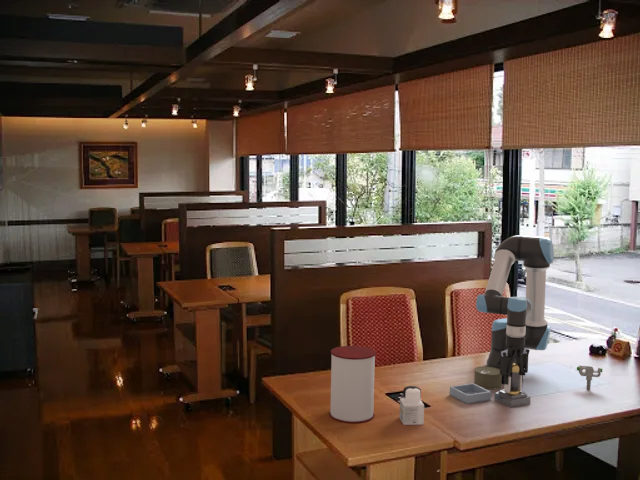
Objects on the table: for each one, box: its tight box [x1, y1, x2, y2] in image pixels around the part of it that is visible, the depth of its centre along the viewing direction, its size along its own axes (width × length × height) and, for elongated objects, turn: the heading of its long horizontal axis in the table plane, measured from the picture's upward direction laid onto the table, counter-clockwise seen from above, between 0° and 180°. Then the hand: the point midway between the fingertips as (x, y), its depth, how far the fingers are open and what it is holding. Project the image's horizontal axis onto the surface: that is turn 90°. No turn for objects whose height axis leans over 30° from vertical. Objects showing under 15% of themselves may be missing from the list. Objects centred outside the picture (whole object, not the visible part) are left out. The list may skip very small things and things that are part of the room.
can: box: [473, 366, 503, 391], centre depth 301 cm, size 12×12×7 cm
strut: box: [506, 363, 520, 395], centre depth 280 cm, size 5×5×13 cm
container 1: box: [328, 345, 377, 424], centre depth 262 cm, size 17×17×25 cm
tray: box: [449, 382, 492, 405], centre depth 285 cm, size 12×12×4 cm
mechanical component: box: [576, 365, 603, 391], centre depth 298 cm, size 3×10×10 cm, turn 79°
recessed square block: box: [494, 389, 532, 409], centre depth 280 cm, size 10×10×4 cm
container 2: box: [398, 385, 425, 426], centre depth 257 cm, size 8×8×13 cm
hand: (512, 390), depth 280 cm, fingers closed on strut, 5 cm apart
